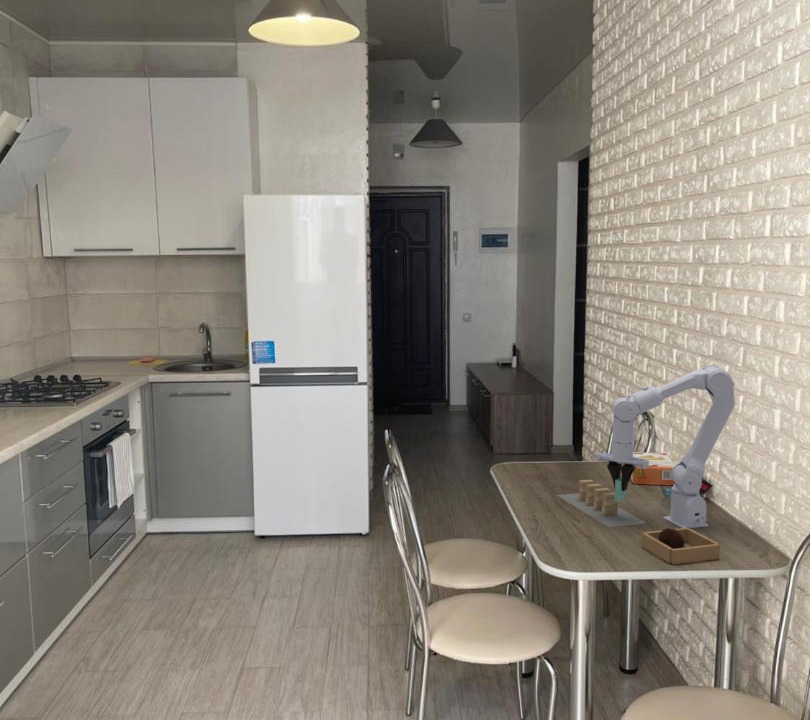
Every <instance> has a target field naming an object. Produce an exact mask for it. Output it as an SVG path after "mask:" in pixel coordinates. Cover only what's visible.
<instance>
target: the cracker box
mask: <svg viewBox="0 0 810 720" xmlns="http://www.w3.org/2000/svg"><path fill="white" fill-rule="evenodd" d="M633 457H636V458H639V459H643V460H648V461H649V467H648V468H647V469H643V468H642V467H636V468H635V470H634V471H633V473H632V475H631V477H630V480H631V482H632V483H633V484H634V485H635V484H636V485H639V484H640V485H653V486H654V485H655V486H671V485H674V483H675V482H674V481H673V480H672V478H671V471H672V469H673V467H674V466H676V464H675V463H674V461H672V459H671V458H670V456H669V455H668V453H664V452H662V453H661V452H658V453H657V452H638V451H636V452H635V451H633Z"/></svg>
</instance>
